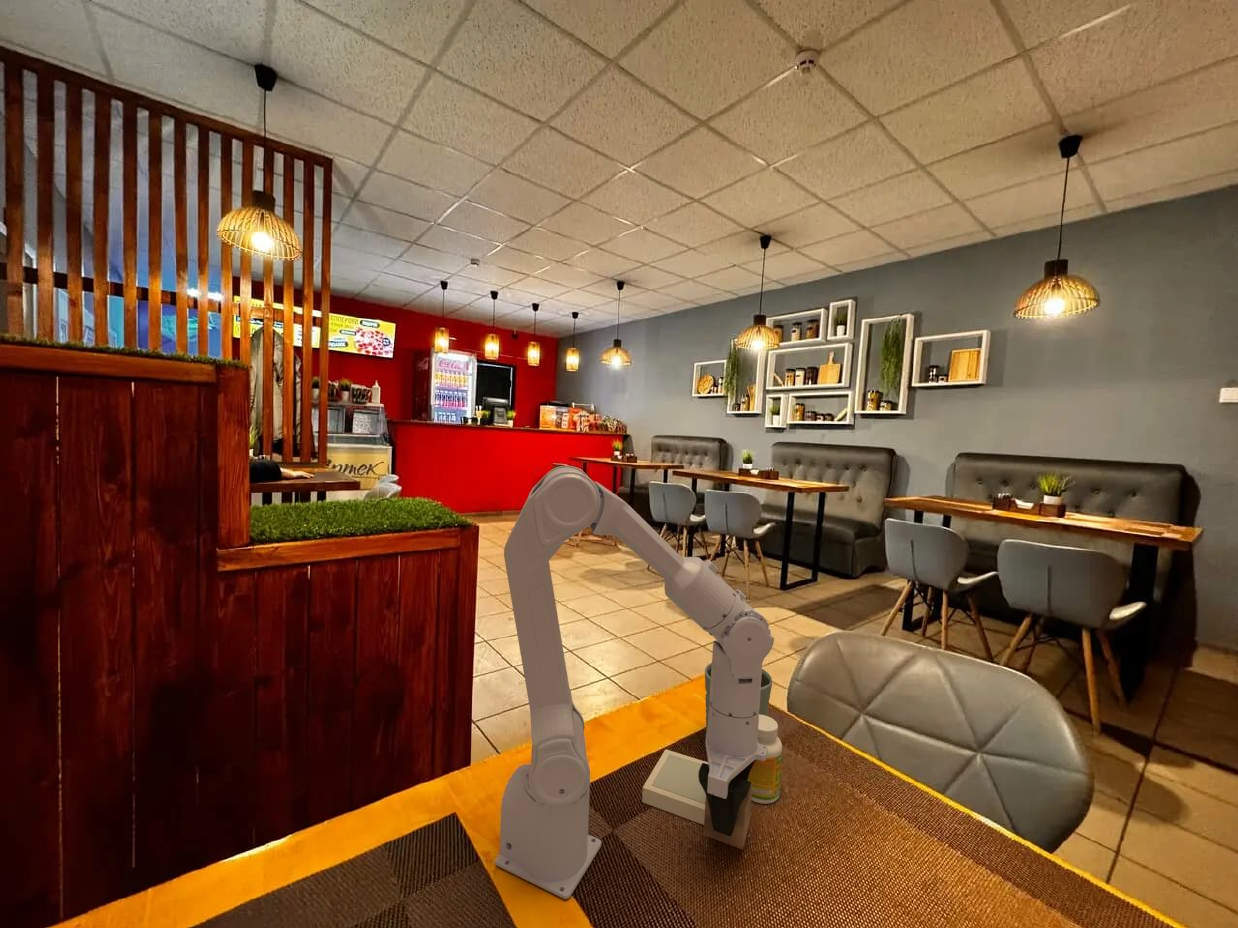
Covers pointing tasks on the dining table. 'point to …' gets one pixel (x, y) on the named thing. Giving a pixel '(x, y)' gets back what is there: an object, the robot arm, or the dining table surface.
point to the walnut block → (740, 826)
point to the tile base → (676, 786)
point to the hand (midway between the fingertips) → (727, 816)
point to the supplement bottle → (767, 764)
